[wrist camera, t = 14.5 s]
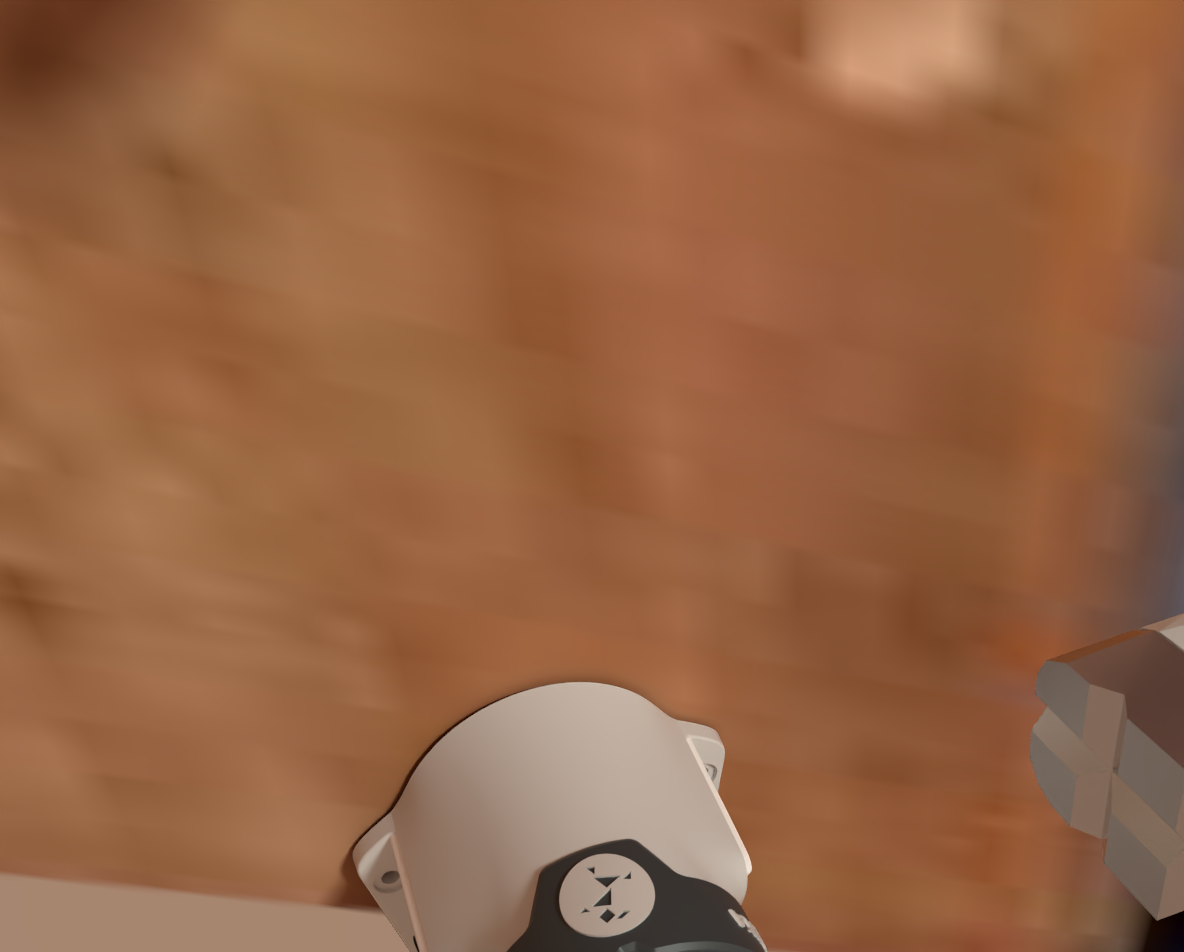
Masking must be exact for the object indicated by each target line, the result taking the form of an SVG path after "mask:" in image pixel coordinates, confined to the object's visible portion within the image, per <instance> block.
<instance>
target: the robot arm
mask: <svg viewBox="0 0 1184 952" xmlns="http://www.w3.org/2000/svg"><path fill="white" fill-rule="evenodd" d="M1035 694H1036V695H1037V696H1038V698H1039V699H1040V700H1041V701H1042V702H1043V703H1044V704H1045V705H1046V706H1047V708H1046V709H1045V711H1044V712H1043V714H1042V715H1041V717H1040V718H1039V720H1038V721H1037V722H1036V724H1035V725H1034V727H1033V728H1032V730H1031V745H1030V759H1031V762H1032V765H1033V768H1034V771H1035V774H1036V778H1037V781H1038V784H1039V786H1040V787H1041V789H1042V791H1043V792H1044V794H1045V796H1046V797H1047V799H1048V801H1049V802H1050V804H1051V805H1052V807H1053V808H1054V809H1055V810H1056V811H1057V812H1058V813H1059V815H1060V816H1061V817H1062V818H1063V819H1064V820H1065V821H1066V822H1067V824H1068V825H1069V826H1070V827H1073V828H1075V829H1078V830H1080V831H1083V832H1085V833H1087V834H1090V835H1092V836H1095V837H1097V838H1100V839H1101V841H1102V851H1103V861H1104V864H1105V865H1106V866H1107V867H1108V868H1109V869H1110V870H1111V872H1112V873H1113V874H1114V875H1115V876H1116V877H1117V878H1118V879H1119V880H1120V881H1121V882H1122V883H1123V884H1124V886H1125V887H1126V888H1127V889H1128V890H1129V891H1130V892H1131V893H1132V894H1133V895H1134V896H1135V897H1136V898H1137V900H1138V901H1139V902H1140V903H1141V904H1142V905H1143V906H1144V907H1145V908H1146V909H1147V910H1148V911H1149V912H1150V914H1151V915H1152V916H1153V917H1154V918H1155V919H1156V920H1159V919H1162V918H1165V917H1167V916H1170V915H1173V914H1176V913H1178V912H1181V911H1184V613H1183V614H1180V615H1178V616H1175V617H1172V618H1169V619H1166V620H1163V621H1160V622H1157V623H1154V624H1151V625H1148V626H1145V627H1142V628H1140V629H1139V630H1132V631H1129V632H1126V633H1123V634H1120V635H1117V636H1115V637H1112V638H1109V639H1106V640H1103V641H1100V642H1098V643H1095V644H1092V645H1089V646H1086V647H1083V648H1080V649H1078V650H1075V651H1072V652H1069V653H1066V654H1063V655H1061V656H1058V657H1055V658H1052V659H1049V660H1046V662H1045V663H1044V665H1043V666H1042V667H1041V669H1040V670H1039V672H1038V674H1037V682H1036V690H1035ZM724 757H725V749H724V746H723V744H722V741H721V739H720V737H719V735H718V733H717V732H716V731H715V730H714V729H712V728H710V727H707V726H704V725H700V724H696V723H691V722H685V721H679V720H675V719H673V718H671V717H669V716H668V715H666V714H665V713H663V712H662V711H661V710H660V709H659V708H657V707H656V706H655V705H653V704H652V703H651V702H650V701H648V700H647V699H645V698H643V697H642V696H640V695H638V694H636V693H634V692H631V691H629V690H626V689H623V688H620V687H616V686H612V685H607V684H601V683H591V682H571V683H560V684H553V685H547V686H542V687H538V688H534V689H530V690H526V691H523V692H520V693H517V694H514V695H512V696H509V697H507V698H504V699H502V700H500V701H498V702H495V703H493V704H491V705H489V706H487V707H486V708H484V709H482V710H480V711H478V712H477V713H475V714H473V715H472V716H470V717H469V718H467V719H466V720H464V721H463V722H462V723H460V724H459V725H458V726H456V727H455V728H454V729H452V730H451V731H450V732H449V733H448V734H446V735H445V736H444V737H443V738H442V739H441V740H440V741H439V742H438V743H437V744H436V745H435V746H434V747H433V748H432V749H431V750H430V751H429V753H428V754H427V755H426V756H425V757H424V759H423V760H422V761H421V763H420V764H419V765H418V767H417V768H416V770H415V771H414V773H413V775H412V776H411V778H410V780H409V782H408V784H407V786H406V788H405V790H404V792H403V794H402V796H401V797H400V799H399V801H398V802H397V804H396V806H395V807H394V808H393V810H392V811H391V812H390V813H389V814H388V815H387V816H385V817H384V818H383V819H382V820H381V821H380V822H379V823H377V824H376V825H375V826H374V827H373V828H372V829H371V830H370V831H369V832H368V833H367V834H366V835H364V836H363V838H362V839H361V840H360V841H359V842H358V844H357V845H356V846H355V848H354V850H353V855H352V857H353V861H354V864H355V867H356V870H357V873H358V875H359V877H360V879H361V880H362V882H363V883H364V885H365V886H366V888H367V889H368V890H369V892H370V893H371V895H372V896H373V898H374V899H375V901H376V902H377V904H378V905H379V907H380V908H381V910H382V911H383V912H384V914H385V915H386V917H387V918H388V920H389V921H390V923H391V924H392V926H393V927H394V928H395V930H396V932H397V933H398V934H399V936H400V937H401V939H402V940H403V942H404V943H405V945H406V946H407V948H408V949H409V951H410V952H768V951H767V949H766V947H765V945H764V943H763V941H762V939H761V937H760V935H759V933H758V932H757V930H756V928H755V927H754V926H753V925H752V924H751V922H750V921H749V920H748V918H747V916H746V914H745V912H744V910H743V909H742V907H741V904H742V902H743V899H744V896H745V893H746V889H747V876H748V874H749V873H750V872H751V870H752V866H751V861H750V858H749V855H748V853H747V851H746V849H745V847H744V845H743V843H742V841H741V839H740V837H739V835H738V832H737V830H736V828H735V826H734V824H733V822H732V820H731V818H730V816H729V814H728V812H727V810H726V808H725V806H724V804H723V802H722V800H721V798H720V796H719V794H718V788H719V783H720V778H721V773H722V768H723V762H724ZM388 871H390V872H388Z"/></svg>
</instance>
